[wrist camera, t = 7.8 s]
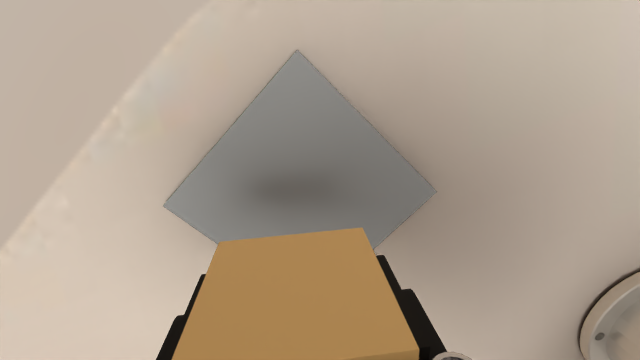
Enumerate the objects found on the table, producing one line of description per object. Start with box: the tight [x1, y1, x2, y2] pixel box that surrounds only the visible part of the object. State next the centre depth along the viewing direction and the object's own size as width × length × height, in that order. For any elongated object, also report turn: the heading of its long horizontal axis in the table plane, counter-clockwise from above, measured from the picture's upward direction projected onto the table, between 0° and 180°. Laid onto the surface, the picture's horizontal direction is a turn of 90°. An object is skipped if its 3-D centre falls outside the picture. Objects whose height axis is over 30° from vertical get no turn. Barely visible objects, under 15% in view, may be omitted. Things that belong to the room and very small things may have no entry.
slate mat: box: [163, 50, 437, 249], centre depth 21 cm, size 13×13×1 cm
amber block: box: [172, 228, 419, 360], centre depth 9 cm, size 5×5×5 cm
